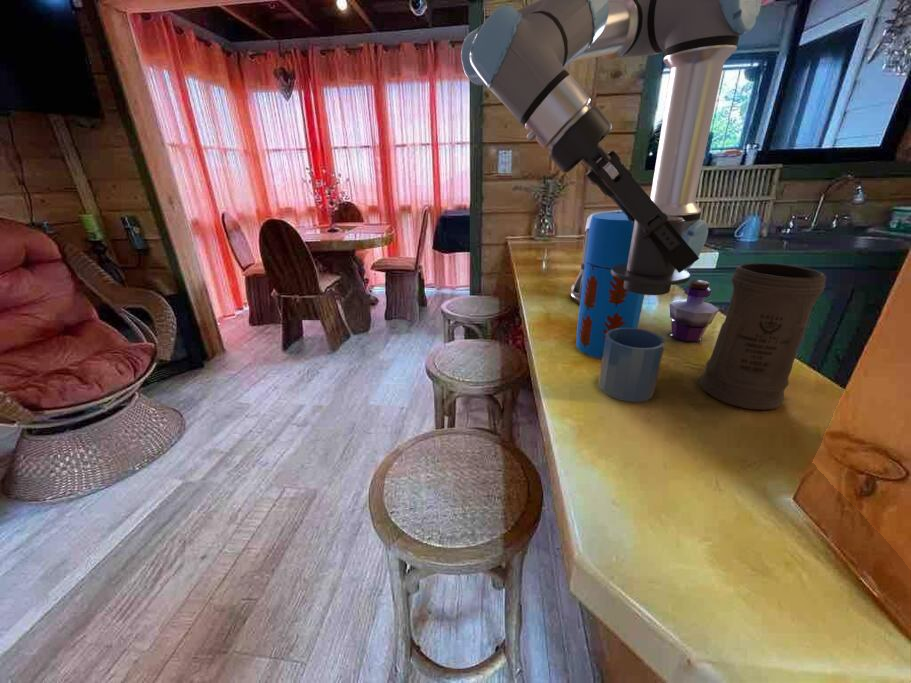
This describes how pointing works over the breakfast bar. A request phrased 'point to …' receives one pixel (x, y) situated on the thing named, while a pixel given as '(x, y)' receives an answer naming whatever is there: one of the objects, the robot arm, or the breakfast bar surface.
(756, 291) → the beer stein
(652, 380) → the cup
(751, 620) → the breakfast bar surface
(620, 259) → the thermos
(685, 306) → the potion bottle
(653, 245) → the dripper
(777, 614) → the breakfast bar surface
